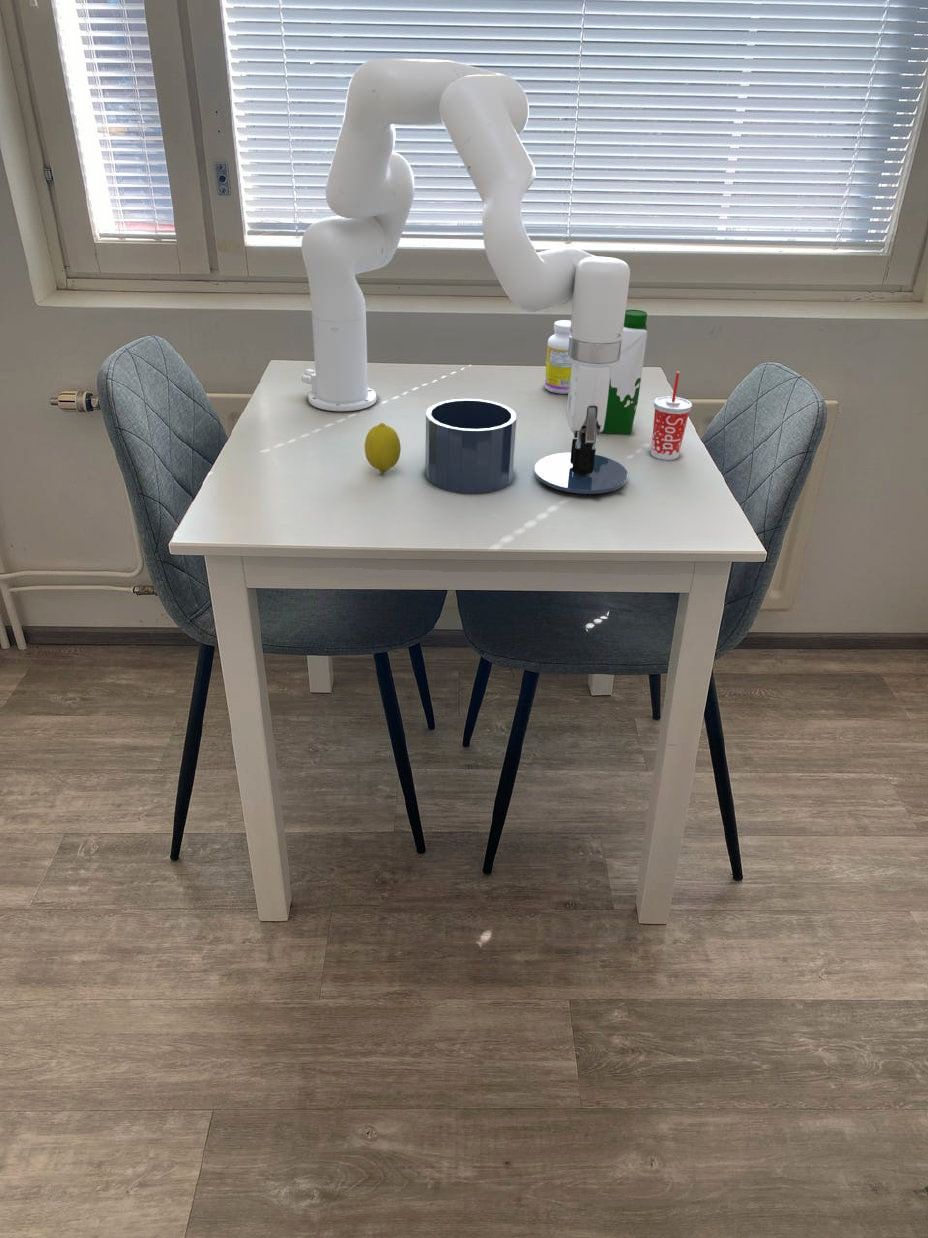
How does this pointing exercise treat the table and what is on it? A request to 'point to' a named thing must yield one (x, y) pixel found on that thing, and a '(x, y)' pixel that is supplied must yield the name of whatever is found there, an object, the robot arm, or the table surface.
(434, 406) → the crock
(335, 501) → the table surface
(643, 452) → the table surface
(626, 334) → the milk carton
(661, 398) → the beverage cup
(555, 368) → the supplement bottle
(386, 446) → the lemon
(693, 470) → the table surface
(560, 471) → the crock lid
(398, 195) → the robot arm
